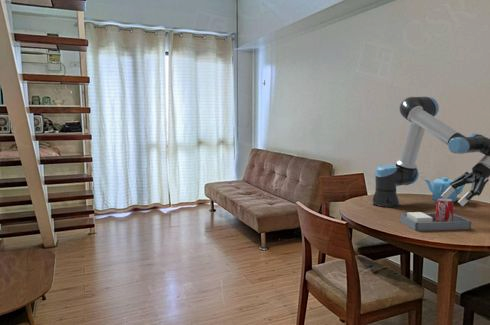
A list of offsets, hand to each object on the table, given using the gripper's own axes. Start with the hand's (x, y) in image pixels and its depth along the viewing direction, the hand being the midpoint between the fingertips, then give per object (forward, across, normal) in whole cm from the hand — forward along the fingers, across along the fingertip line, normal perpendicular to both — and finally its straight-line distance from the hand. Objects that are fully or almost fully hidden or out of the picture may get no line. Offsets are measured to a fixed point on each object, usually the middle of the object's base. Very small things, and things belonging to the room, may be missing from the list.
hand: (451, 200), depth 165 cm
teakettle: (-9, +50, -27) cm, 57 cm away
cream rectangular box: (+18, 0, +2) cm, 19 cm away
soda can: (+10, 0, -6) cm, 12 cm away
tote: (+14, 0, -4) cm, 15 cm away
